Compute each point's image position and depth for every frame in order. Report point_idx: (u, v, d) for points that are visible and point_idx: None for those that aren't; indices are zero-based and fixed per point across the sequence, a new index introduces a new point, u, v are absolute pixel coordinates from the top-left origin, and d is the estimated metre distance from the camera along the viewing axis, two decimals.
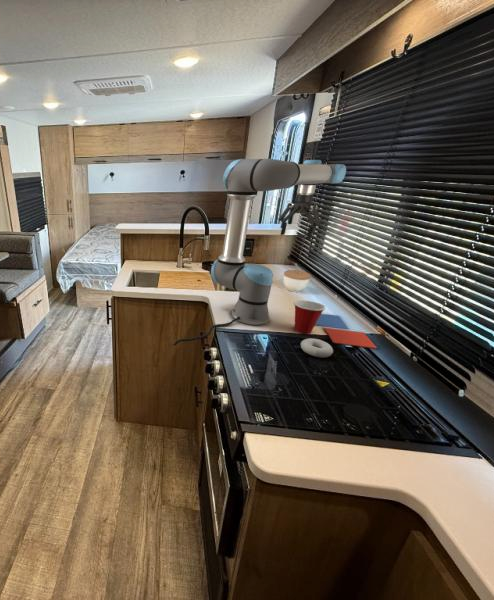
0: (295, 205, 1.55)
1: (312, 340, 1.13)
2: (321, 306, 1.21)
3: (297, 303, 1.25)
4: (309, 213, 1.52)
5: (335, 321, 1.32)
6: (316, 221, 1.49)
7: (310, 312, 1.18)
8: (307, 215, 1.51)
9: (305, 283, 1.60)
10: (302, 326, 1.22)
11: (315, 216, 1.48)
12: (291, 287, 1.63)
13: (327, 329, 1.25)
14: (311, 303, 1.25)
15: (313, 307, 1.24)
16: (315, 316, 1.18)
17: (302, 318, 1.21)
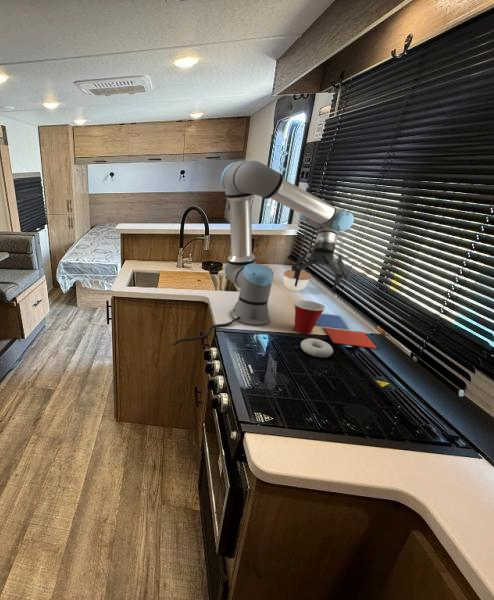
0: (314, 254, 1.33)
1: (312, 340, 1.13)
2: (321, 306, 1.21)
3: (297, 303, 1.25)
4: None
5: (335, 321, 1.32)
6: (344, 270, 1.25)
7: (310, 312, 1.18)
8: (332, 264, 1.28)
9: (305, 283, 1.60)
10: (302, 326, 1.22)
11: (342, 265, 1.26)
12: (291, 287, 1.63)
13: (327, 329, 1.25)
14: (311, 303, 1.25)
15: (313, 307, 1.24)
16: (315, 316, 1.18)
17: (302, 318, 1.21)
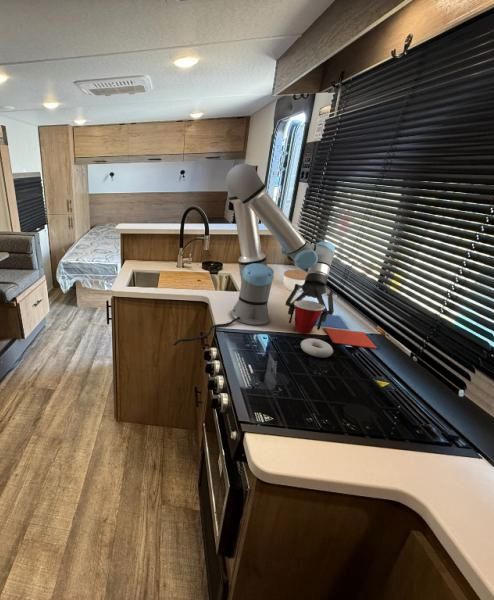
0: (306, 285, 1.27)
1: (312, 340, 1.13)
2: (321, 306, 1.21)
3: (297, 303, 1.25)
4: None
5: (335, 321, 1.32)
6: (331, 307, 1.19)
7: (310, 312, 1.18)
8: (321, 298, 1.22)
9: None
10: (302, 326, 1.22)
11: (331, 301, 1.20)
12: (291, 287, 1.63)
13: (327, 329, 1.25)
14: (311, 303, 1.25)
15: (313, 307, 1.24)
16: (314, 316, 1.18)
17: (301, 318, 1.21)
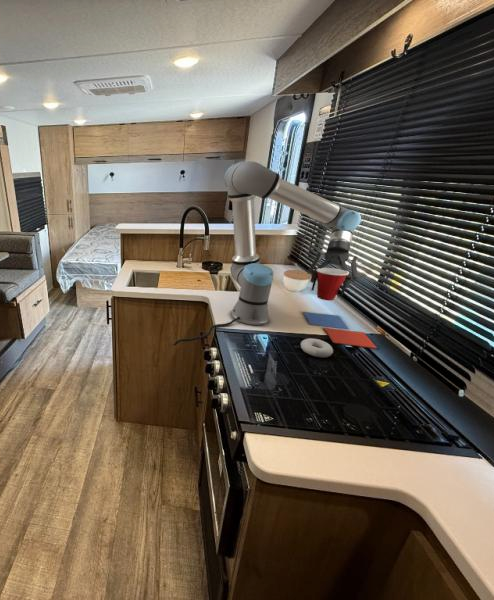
0: (328, 253, 1.27)
1: (312, 340, 1.13)
2: (344, 272, 1.21)
3: (319, 270, 1.26)
4: None
5: (335, 321, 1.32)
6: (355, 273, 1.20)
7: (334, 277, 1.18)
8: (344, 265, 1.23)
9: (305, 283, 1.60)
10: (325, 292, 1.23)
11: (355, 267, 1.21)
12: (291, 287, 1.63)
13: (327, 329, 1.25)
14: (333, 270, 1.25)
15: (336, 274, 1.25)
16: (338, 282, 1.19)
17: (325, 284, 1.21)
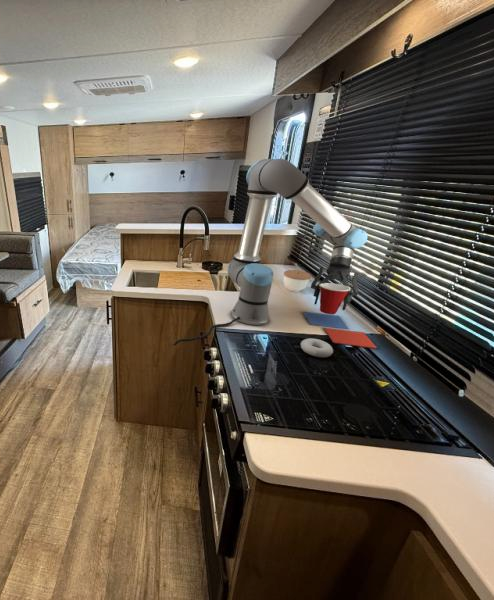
0: (330, 269, 1.33)
1: (312, 340, 1.13)
2: (346, 287, 1.27)
3: (322, 285, 1.32)
4: None
5: (335, 321, 1.32)
6: (356, 288, 1.26)
7: (336, 293, 1.24)
8: (345, 280, 1.28)
9: (305, 283, 1.60)
10: (327, 306, 1.28)
11: (356, 283, 1.26)
12: (291, 287, 1.63)
13: (327, 329, 1.25)
14: (335, 285, 1.31)
15: (338, 289, 1.30)
16: (340, 297, 1.25)
17: (327, 299, 1.27)
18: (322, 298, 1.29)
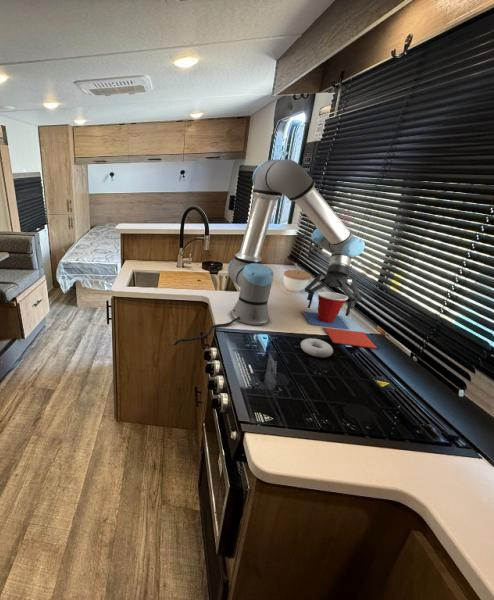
0: (328, 276, 1.34)
1: (312, 340, 1.13)
2: (343, 296, 1.29)
3: (320, 294, 1.33)
4: None
5: (335, 321, 1.32)
6: (358, 294, 1.26)
7: (334, 302, 1.26)
8: (345, 287, 1.29)
9: (305, 283, 1.60)
10: (325, 315, 1.30)
11: (356, 289, 1.28)
12: (291, 287, 1.63)
13: (327, 329, 1.25)
14: (333, 294, 1.33)
15: (335, 298, 1.32)
16: (338, 306, 1.26)
17: (325, 308, 1.28)
18: (320, 307, 1.31)
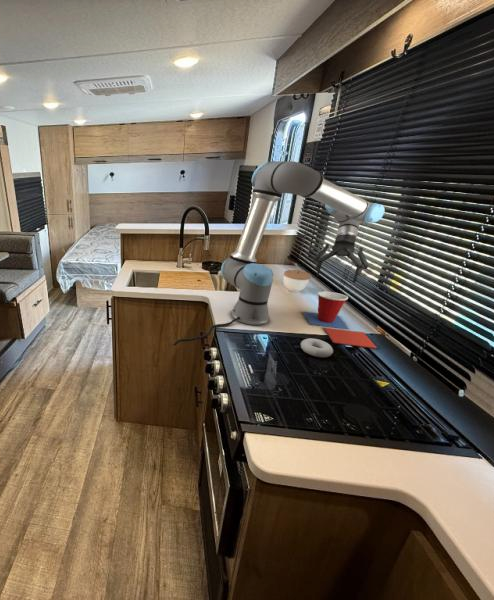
0: (336, 246, 1.40)
1: (312, 340, 1.13)
2: (343, 296, 1.29)
3: (320, 294, 1.33)
4: None
5: (335, 321, 1.32)
6: (365, 262, 1.32)
7: (334, 302, 1.26)
8: (353, 256, 1.35)
9: (305, 283, 1.60)
10: (325, 315, 1.30)
11: (363, 257, 1.33)
12: (291, 287, 1.63)
13: (327, 329, 1.25)
14: (333, 294, 1.33)
15: (335, 298, 1.32)
16: (338, 306, 1.26)
17: (325, 308, 1.28)
18: (320, 306, 1.31)
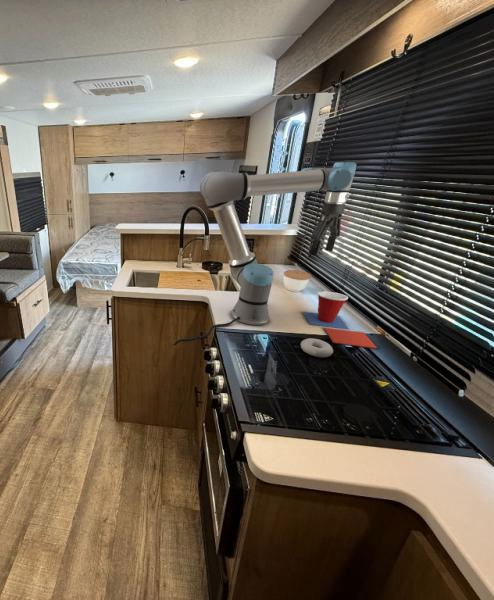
0: None
1: (312, 340, 1.13)
2: (343, 296, 1.29)
3: (320, 294, 1.33)
4: None
5: (335, 321, 1.32)
6: None
7: (334, 302, 1.26)
8: None
9: (305, 283, 1.60)
10: (325, 315, 1.30)
11: None
12: (291, 287, 1.63)
13: (327, 329, 1.25)
14: (333, 294, 1.33)
15: (335, 298, 1.32)
16: (338, 306, 1.26)
17: (325, 308, 1.28)
18: (320, 306, 1.31)
